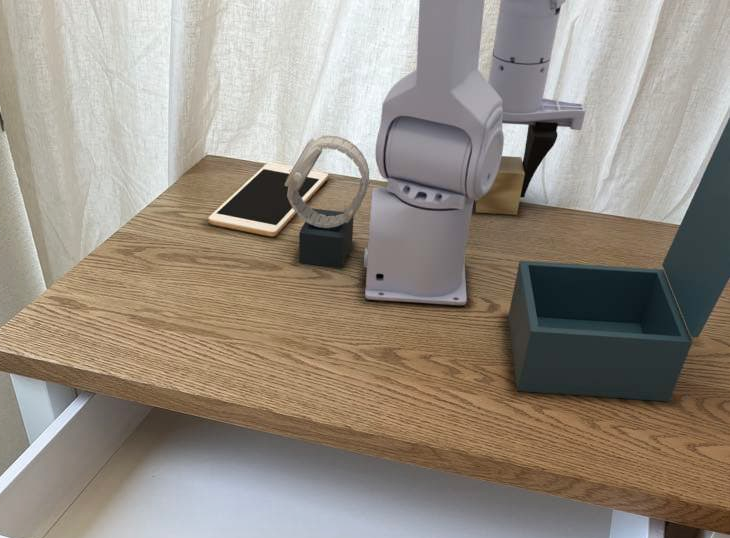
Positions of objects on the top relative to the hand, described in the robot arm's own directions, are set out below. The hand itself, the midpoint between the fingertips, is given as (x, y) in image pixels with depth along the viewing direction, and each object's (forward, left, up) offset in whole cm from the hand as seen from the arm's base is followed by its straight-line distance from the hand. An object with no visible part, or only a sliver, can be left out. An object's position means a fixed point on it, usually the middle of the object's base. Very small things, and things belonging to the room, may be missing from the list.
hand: (497, 192), depth 92 cm
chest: (+6, -29, -1) cm, 30 cm away
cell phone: (-25, -2, -2) cm, 25 cm away
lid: (+13, -29, +11) cm, 34 cm away
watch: (-18, -13, -2) cm, 23 cm away
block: (0, 0, -1) cm, 1 cm away
